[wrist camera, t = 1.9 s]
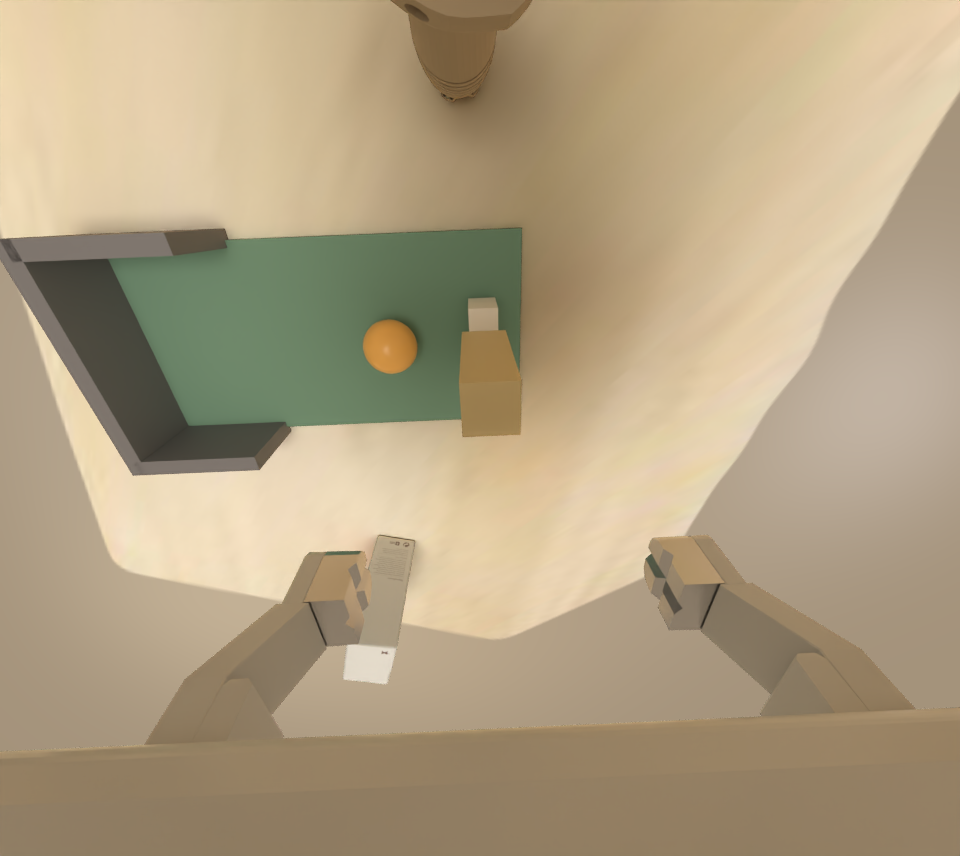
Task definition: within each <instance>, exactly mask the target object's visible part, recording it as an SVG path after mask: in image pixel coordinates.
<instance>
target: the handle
mask: <svg viewBox="0 0 960 856" xmlns="http://www.w3.org/2000/svg"><path fill="white" fill-rule="evenodd" d="M391 1H392V2H393V3H395V4H396V5H397V6H399V7H400V8H401V9H402V10H404V11H405V12H406V13H408V15H409V21H410V28H411V33H412V39H413V42H414V46H415V49H416V52H417V55H418V58H419V60H420V63H421V65H422V67H423V69H424V71H425V73H426V74H427V76H428V78H429V79H430V81H431V82H432V83H433V85H434V86H435V87H436V88H437V89H438V90H439V91H440V92H441V95H442V96H443V97H444V98H445V99H446V100H448V101H451V102H454V101H455V100H456V99H457V98H464V97H467V96H468V97H471V98H472V97H474V96H475V95H476V94H477V92H478V91H479V86H480V85H481V83H482V82H483V80H484V78H485V77H486V75H487V72H488V70H489V67H490V64H491V61H492V58H493V53H494V48H495V41H496V32H497V31H498V30H505V29H508V28H509V27H510V26H511V25H512V24H514V23H515V22H516V21H517V20H518V19H519V18H520V16H521V15H522V14H523V13H524V12H525V10H526V9H527V8H528V7H529V5H530V3H531V1H532V0H391Z"/></svg>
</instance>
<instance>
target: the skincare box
mask: <svg viewBox="0 0 960 856" xmlns="http://www.w3.org/2000/svg"><path fill="white" fill-rule="evenodd" d="M414 546H415V541H411V540H405V539H399V538H392V537H386V536H378V537H377V541H376V544H375V548H374V551H373V555H372V558H371V562H370V565H369V569H368V570H369V571H370V574H371V580H372V589H371V598H370V602H369V606H368V607H367V608H366V609H365V610H364V611H363V612H362V613H363V617H364V620H365V621H364V625H363V629H362V632H361V636H360V640H359V644H353V645H347V647H346V653H345V665H344V673H343V679H346V680H354V681H363V682H372V683H380V684H387V683H388V680H389V676H390V672H391V669H392V666H393V661H394V658H395V653H396V649H397V645H398V639H399V634H400V628H401V622H402V616H403V610H404V604H405V598H406V592H407V586H408V581H409V575H410V570H411V564H412V558H413V552H414Z"/></svg>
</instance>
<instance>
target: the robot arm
mask: <svg viewBox="0 0 960 856" xmlns="http://www.w3.org/2000/svg"><path fill="white" fill-rule="evenodd" d="M648 548H649V549H650V551H651V553H652V554H650V555H649V556H648V557H647V558H646V559H645V564H644V575H645V580H646V583H647V586H648V588H649V590H650V592H651V593H652V594H653V595H655V596H656V597H657V598H658V599H659V600H660V602H659V605H658V609H659V611H660V613H661V615H662V617H663V619H664V621H665V623H666V625H667V627H668V629H669V630H701V632H702V633H703V634H705V635H706V636H707V637H708V638H709V639H710V640H711V641H712V642H713V643H715V644H716V645H717V646H718V647H719V648H720V649H721V650H722V651H723V652H724V653H726V654H727V655H728V656H729V657H730V658H731V659H732V660H733V661H735V662H736V663H737V664H738V665H739V666H740V667H741V668H742V669H743V670H745V671H746V672H747V673H748V674H749V675H750V676H751V677H752V678H753V679H754V680H755V681H757V682H758V683H759V684H760V685H761V686H762V687H763V688H764V689H765V690H767V691H768V692H769V693H770V694H771V695H770V697H769V698H768V700H767V701H766V703H765V704H764V706H763V708H762V710H761V713H760V715H761V716H760V717H738V718H718V719H717V718H716V719H695V720H672V721H652V722H651V721H650V722H629V723H607V724H583V725H564V726H563V725H561V726H541V727H519V728H497V729H477V730H476V729H475V730H455V731H432V732H411V733H389V734H368V735H346V736H325V737H302V738H283V737H284V735H283V733H282V731H281V729H280V727H279V726H278V724H277V723H276V721H275V719H274V718H273V716H272V714H273V712H274V711H275V710H276V709H277V708H278V706H279V705H280V704H281V703H282V702H283V700H284V699H285V698H286V697H287V696H288V694H289V693H290V692H291V691H292V690H293V688H294V687H295V686H296V685H297V684H298V682H299V681H300V680H301V679H302V678H303V676H304V675H305V674H306V673H307V672H308V670H309V669H310V668H311V667H312V666H313V664H314V663H315V662H316V661H317V659H318V658H319V657H320V656H321V655H322V653H323V652H324V651H325V650H326V647H327V646H340V645H353V644H359V640H360V636H361V632H362V629H363V625H364V621H365V620H364V617H363V613H362V612H363V611H364V610H365V609H366V608H367V607H368V606H369V602H370V598H371V589H372V580H371V574H370V571H369V570H368V569H367V568H365V565H366V561H367V559H366V555H365V552H363V551H337V552H309V553H308V554H307V555H306V556H305V557H304V559H303V562H302V564H301V566H300V568H299V570H298V572H297V574H296V576H295V578H294V580H293V582H292V584H291V586H290V588H289V590H288V592H287V594H286V596H285V598H284V600H283V602H282V604H276V605H275V606H273V607H272V608H271V609H270V610H269V611H267V612H266V613H265V614H264V615H262V616H261V617H260V618H259V619H258V620H256V621H255V622H254V623H253V624H251V625H250V626H249V627H248V628H247V629H245V630H244V631H243V632H242V633H241V634H239V635H238V636H237V637H236V638H234V639H233V640H232V641H231V642H230V643H228V644H227V645H226V646H225V647H223V649H221V650H220V651H219V652H217V653H216V654H215V655H214V656H213V657H211V658H210V659H209V660H208V661H206V662H205V663H204V664H203V665H202V666H201V667H199V668H198V669H197V670H195V671H194V672H193V673H192V674H191V675H189V676H188V677H187V678H186V679H185V680H184V681H183V683H182V685H181V686H180V688H179V689H178V691H177V693H176V694H175V696H174V697H173V699H172V701H171V702H170V704H169V705H168V707H167V709H166V710H165V712H164V714H163V715H162V717H161V718H160V720H159V722H158V724H157V725H156V726H155V728H154V730H153V731H152V733H151V734H150V736H149V738H148V739H147V741H146V743H145V744H144V745H132V746H108V747H87V748H64V749H41V750H19V751H0V856H960V707H952V708H931V709H915V708H914V706H913V705H912V704H911V703H910V702H909V701H908V700H907V699H906V698H905V697H904V695H903V694H902V693H901V692H900V691H899V690H898V689H897V688H896V687H895V686H894V685H893V684H892V682H891V681H890V680H889V679H888V678H887V677H886V676H885V675H884V674H883V673H882V671H881V670H880V669H879V668H878V667H877V666H876V665H875V664H874V662H873V661H872V660H871V659H870V658H869V657H868V656H867V655H866V654H865V653H864V651H863V650H862V649H860V648H859V647H857V646H855V645H854V644H852V643H850V642H849V641H847V640H845V639H844V638H842V637H840V636H839V635H837V634H835V633H834V632H832V631H830V630H829V629H827V628H826V627H824V626H822V625H821V624H819V623H817V622H815V621H814V620H812V619H811V618H809V617H807V616H806V615H804V614H803V613H801V612H799V611H798V610H796V609H794V608H793V607H791V606H789V605H787V604H786V603H784V602H783V601H781V600H779V599H778V598H776V597H774V596H773V595H771V594H770V593H768V592H766V591H764V590H763V589H761V588H760V587H758V586H756V585H755V584H753V583H746V582H745V581H744V579H743V578H742V577H741V575H740V574H739V573H738V571H737V570H736V569H735V567H734V566H733V565H732V564H731V562H730V561H729V560H728V558H727V557H726V556H725V554H724V553H723V552H722V551H721V549H720V548H719V547H718V545H717V544H716V543H715V541H714V540H713V539H712V538H711V537H710V536H708V535H696V536H675V537H657V538H653V539H652V540H651V541H650V544H649V547H648Z"/></svg>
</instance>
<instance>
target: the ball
mask: <svg viewBox="0 0 960 856" xmlns="http://www.w3.org/2000/svg"><path fill="white" fill-rule="evenodd" d="M363 351H364V355H365V357H366V359H367V361H368V362H369V363H370V364H371V366H373V367H374V368H375V369H377V370H378V371H380V372H383V373H387V374H396V373H400V372H402V371H404V370H406V369H407V368H409V367H410V366H411V365H412V363H413V362H414V360H415V358H416V355H417V341H416V338H415V336H414V334H413V332H412V331H411V329H410V328H409V327H408V326H406V325H405V324H403V323H402V322H399V321H396V320H391V319H387V320H381V321H379V322H376V323H375V324H373V325H372V326H371V327H370V328H369V329H368V330H367V332H366V334H365V336H364V339H363Z"/></svg>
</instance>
